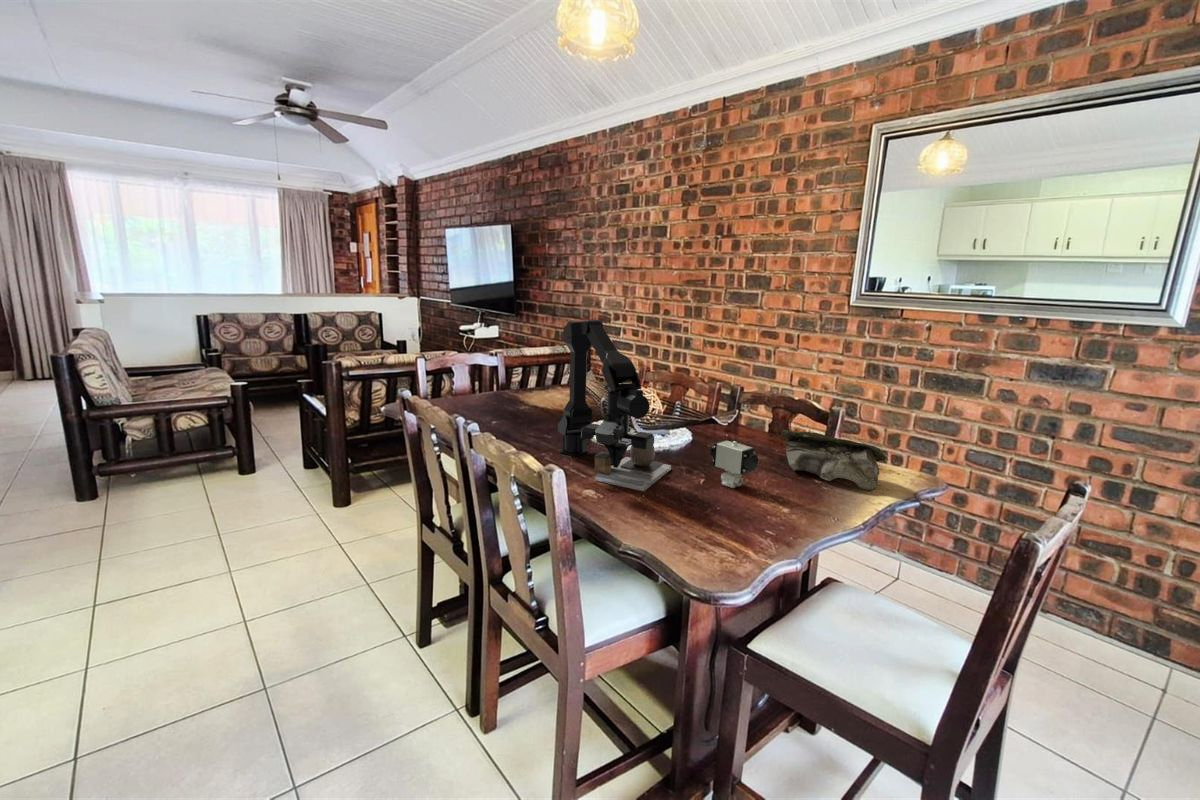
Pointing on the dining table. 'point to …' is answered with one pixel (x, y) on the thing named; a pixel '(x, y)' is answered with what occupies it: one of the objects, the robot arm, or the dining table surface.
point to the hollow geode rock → (833, 457)
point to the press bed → (634, 474)
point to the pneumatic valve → (733, 461)
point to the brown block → (602, 463)
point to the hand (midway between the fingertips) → (616, 467)
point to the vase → (642, 455)
